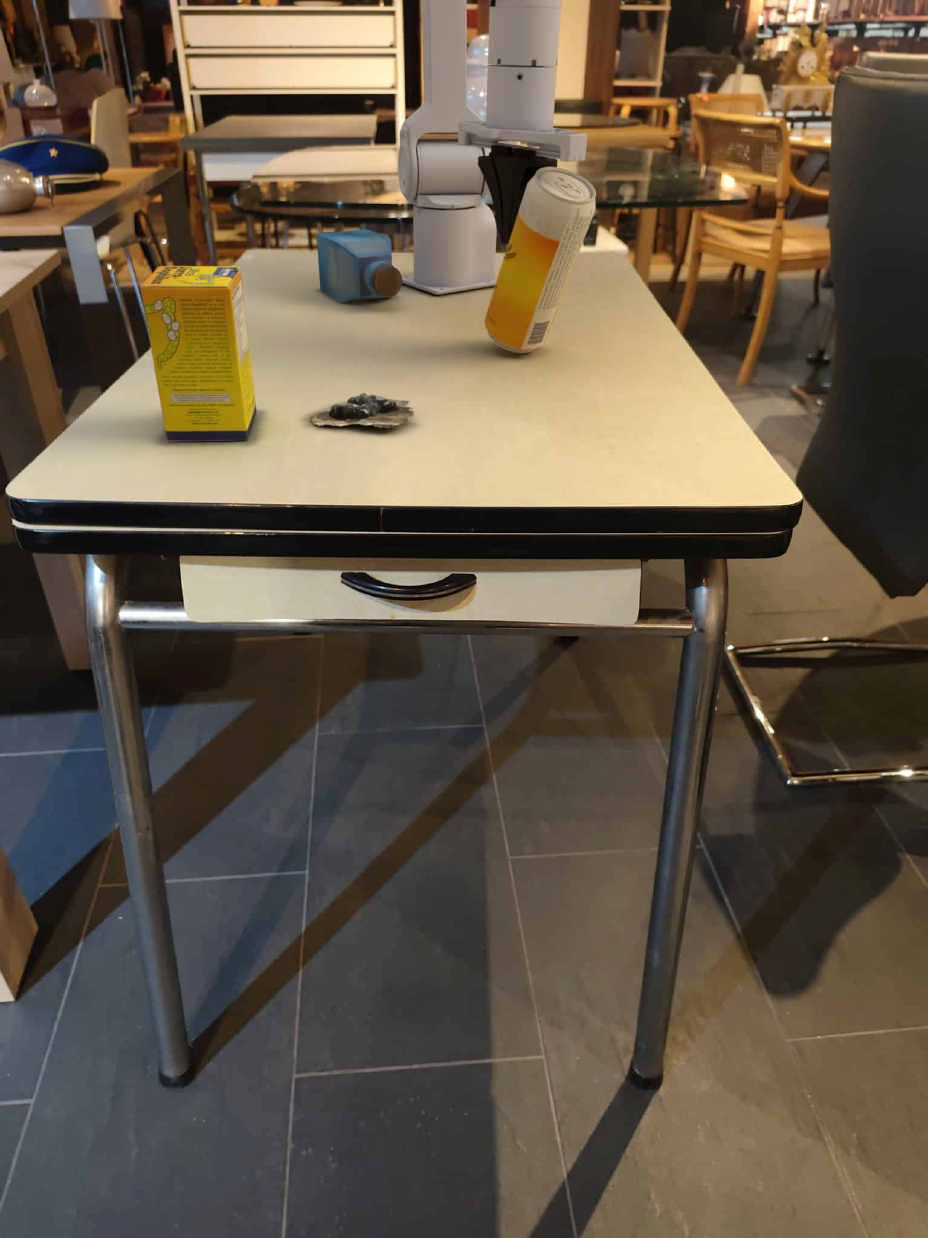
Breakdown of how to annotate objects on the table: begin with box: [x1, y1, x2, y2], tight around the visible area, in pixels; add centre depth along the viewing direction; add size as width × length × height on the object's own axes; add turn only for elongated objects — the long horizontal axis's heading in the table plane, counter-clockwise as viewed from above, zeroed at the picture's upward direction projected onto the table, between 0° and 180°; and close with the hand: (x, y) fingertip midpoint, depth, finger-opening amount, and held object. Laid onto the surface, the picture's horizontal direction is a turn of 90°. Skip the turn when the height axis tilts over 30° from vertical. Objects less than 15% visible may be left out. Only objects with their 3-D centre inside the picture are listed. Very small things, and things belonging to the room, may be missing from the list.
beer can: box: [484, 166, 597, 354], centre depth 79 cm, size 6×6×15 cm
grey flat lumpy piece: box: [309, 392, 415, 429], centre depth 68 cm, size 7×8×2 cm
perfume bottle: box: [316, 228, 403, 304], centre depth 98 cm, size 6×6×12 cm
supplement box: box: [139, 265, 257, 443], centre depth 63 cm, size 6×6×11 cm
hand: (513, 242), depth 80 cm, fingers closed
